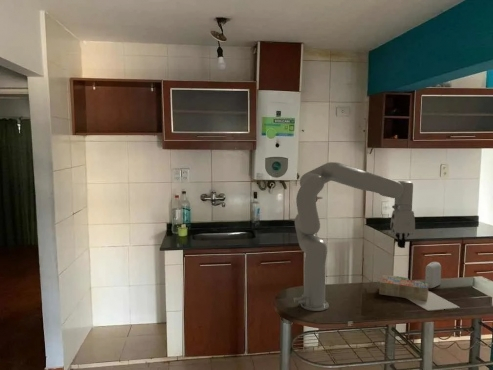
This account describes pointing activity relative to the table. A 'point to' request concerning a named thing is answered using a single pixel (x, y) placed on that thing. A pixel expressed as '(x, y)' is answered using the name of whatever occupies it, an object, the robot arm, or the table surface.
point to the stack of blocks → (403, 287)
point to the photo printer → (433, 274)
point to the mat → (434, 303)
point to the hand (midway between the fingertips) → (401, 247)
